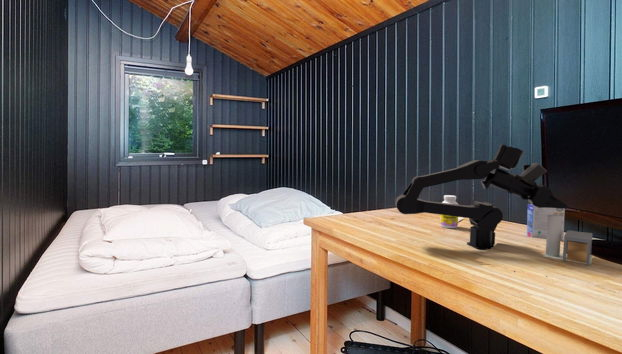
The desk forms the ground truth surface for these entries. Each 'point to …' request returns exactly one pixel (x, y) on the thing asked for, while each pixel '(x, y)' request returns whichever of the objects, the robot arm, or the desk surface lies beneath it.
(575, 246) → the block
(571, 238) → the tunnel
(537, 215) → the ink cartridge box
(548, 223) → the silver l-shaped stand
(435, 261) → the desk surface
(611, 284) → the desk surface
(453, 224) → the supplement bottle
